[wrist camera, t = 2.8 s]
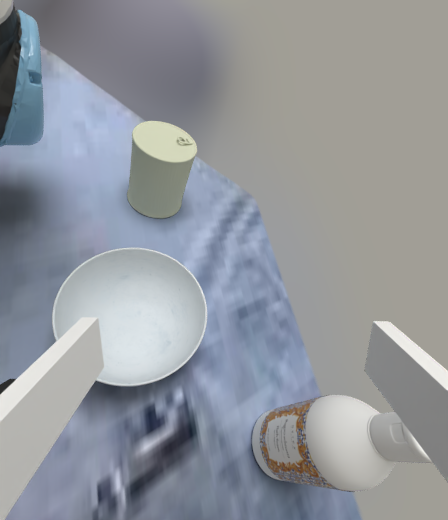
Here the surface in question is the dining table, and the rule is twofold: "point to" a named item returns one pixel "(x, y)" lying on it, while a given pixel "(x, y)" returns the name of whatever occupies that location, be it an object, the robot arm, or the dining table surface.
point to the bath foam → (333, 443)
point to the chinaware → (135, 313)
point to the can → (159, 168)
